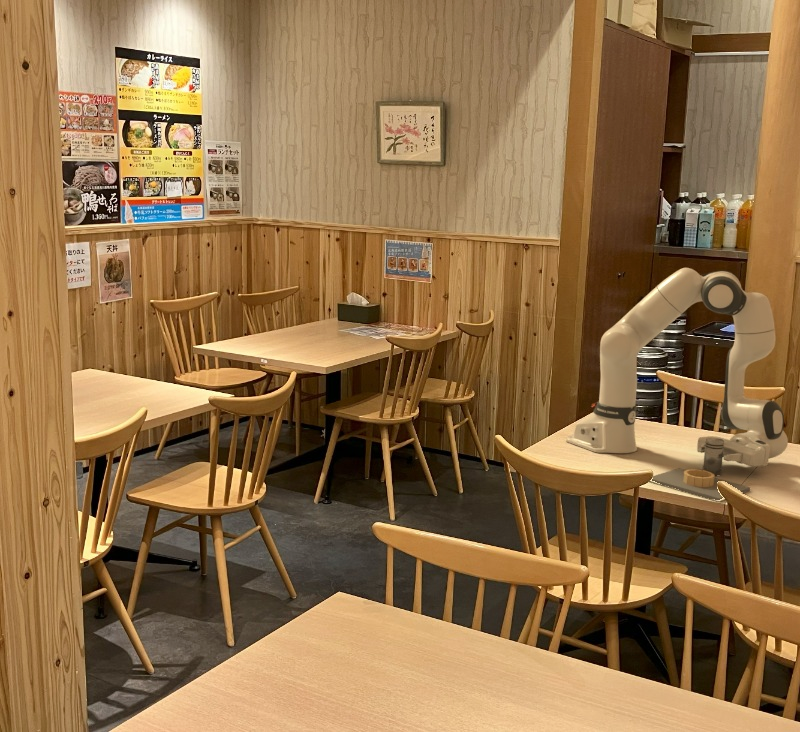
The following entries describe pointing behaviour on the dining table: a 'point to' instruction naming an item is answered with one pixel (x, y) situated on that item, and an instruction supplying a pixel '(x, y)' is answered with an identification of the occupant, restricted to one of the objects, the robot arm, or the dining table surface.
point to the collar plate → (699, 491)
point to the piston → (713, 455)
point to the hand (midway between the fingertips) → (712, 453)
